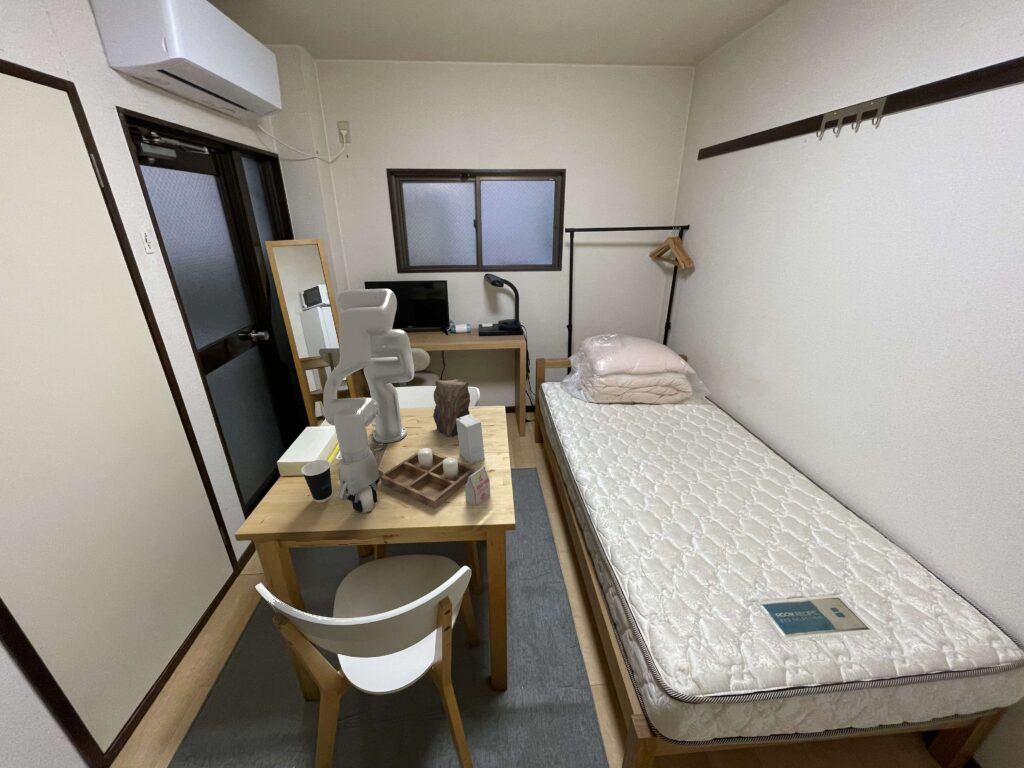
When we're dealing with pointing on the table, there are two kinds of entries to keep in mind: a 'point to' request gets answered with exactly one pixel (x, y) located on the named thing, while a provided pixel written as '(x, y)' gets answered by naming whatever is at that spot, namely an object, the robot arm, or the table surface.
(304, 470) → the dixie cup
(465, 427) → the skincare box
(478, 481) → the milk carton
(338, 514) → the table surface
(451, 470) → the egg right
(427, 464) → the egg left
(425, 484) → the rack
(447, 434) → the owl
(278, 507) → the table surface
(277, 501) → the table surface
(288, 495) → the table surface
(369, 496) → the egg
